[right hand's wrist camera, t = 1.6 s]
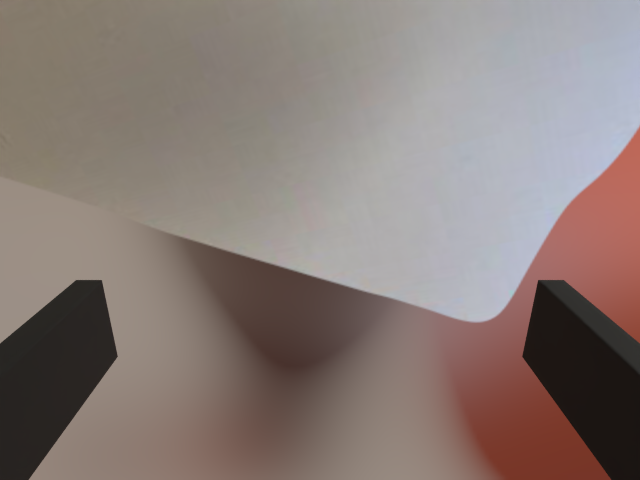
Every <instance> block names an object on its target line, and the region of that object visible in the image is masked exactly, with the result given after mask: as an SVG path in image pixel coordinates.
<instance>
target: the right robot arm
mask: <svg viewBox="0 0 640 480" xmlns="http://www.w3.org/2000/svg"><path fill="white" fill-rule="evenodd" d="M117 357H118V356H117V351H116V346H115V342H114V337H113V332H112V327H111V323H110V318H109V313H108V308H107V303H106V298H105V294H104V289H103V284H102V280H76V281H75V282H74V283H72V284H71V285H70V286H69V287H68V288H66V289H65V290H64V291H63V292H62V293H60V294H59V295H58V296H57V297H56V298H54V299H53V300H52V301H51V302H50V303H48V304H47V305H46V306H45V307H44V308H42V309H41V310H40V311H39V312H38V313H36V314H35V315H34V316H33V317H32V318H30V319H29V320H28V321H27V322H26V323H24V324H23V325H22V326H21V327H20V328H18V329H17V330H16V331H15V332H14V333H12V334H11V335H10V336H9V337H8V338H6V339H5V340H4V341H3V342H2V343H0V480H29V478H30V477H31V476H32V474H33V473H34V471H35V470H36V469H37V467H38V466H39V464H40V463H41V462H42V460H43V459H44V458H45V456H46V455H47V453H48V452H49V451H50V449H51V448H52V447H53V445H54V444H55V442H56V441H57V440H58V438H59V437H60V435H61V434H62V433H63V431H64V430H65V429H66V427H67V426H68V424H69V423H70V422H71V420H72V419H73V418H74V416H75V415H76V413H77V412H78V411H79V409H80V408H81V406H82V405H83V404H84V402H85V401H86V400H87V398H88V397H89V395H90V394H91V393H92V391H93V390H94V389H95V387H96V386H97V384H98V383H99V382H100V380H101V379H102V377H103V376H104V375H105V373H106V372H107V371H108V369H109V368H110V366H111V365H112V364H113V362H114V361H115V360H116V358H117ZM523 358H524V360H525V361H526V362H527V364H528V365H529V366H530V368H531V369H532V370H533V372H534V373H535V375H536V376H537V377H538V379H539V380H540V382H541V383H542V384H543V386H544V387H545V389H546V390H547V391H548V393H549V394H550V395H551V397H552V398H553V400H554V401H555V402H556V404H557V405H558V406H559V408H560V409H561V411H562V412H563V413H564V415H565V416H566V418H567V419H568V420H569V422H570V423H571V424H572V426H573V427H574V429H575V430H576V431H577V433H578V434H579V435H580V437H581V438H582V440H583V441H584V442H585V444H586V445H587V447H588V448H589V449H590V451H591V452H592V453H593V455H594V456H595V457H596V459H597V460H598V462H599V463H600V464H601V466H602V467H603V469H604V470H605V471H606V473H607V474H608V476H609V477H610V478H611V480H640V343H638V342H637V341H636V340H635V339H634V338H632V337H631V336H630V335H629V334H628V333H626V332H625V331H624V330H623V329H622V328H620V327H619V326H618V325H617V324H616V323H614V322H613V321H612V320H611V319H610V318H608V317H607V316H606V315H605V314H604V313H602V312H601V311H600V310H599V309H598V308H596V307H595V306H594V305H593V304H592V303H590V302H589V301H588V300H587V299H586V298H584V297H583V296H582V295H581V294H580V293H578V292H577V291H576V290H575V289H574V288H572V287H571V286H570V285H569V284H568V283H566V282H565V281H564V280H538V284H537V289H536V294H535V298H534V303H533V308H532V313H531V318H530V322H529V327H528V332H527V337H526V342H525V346H524V351H523Z"/></svg>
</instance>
